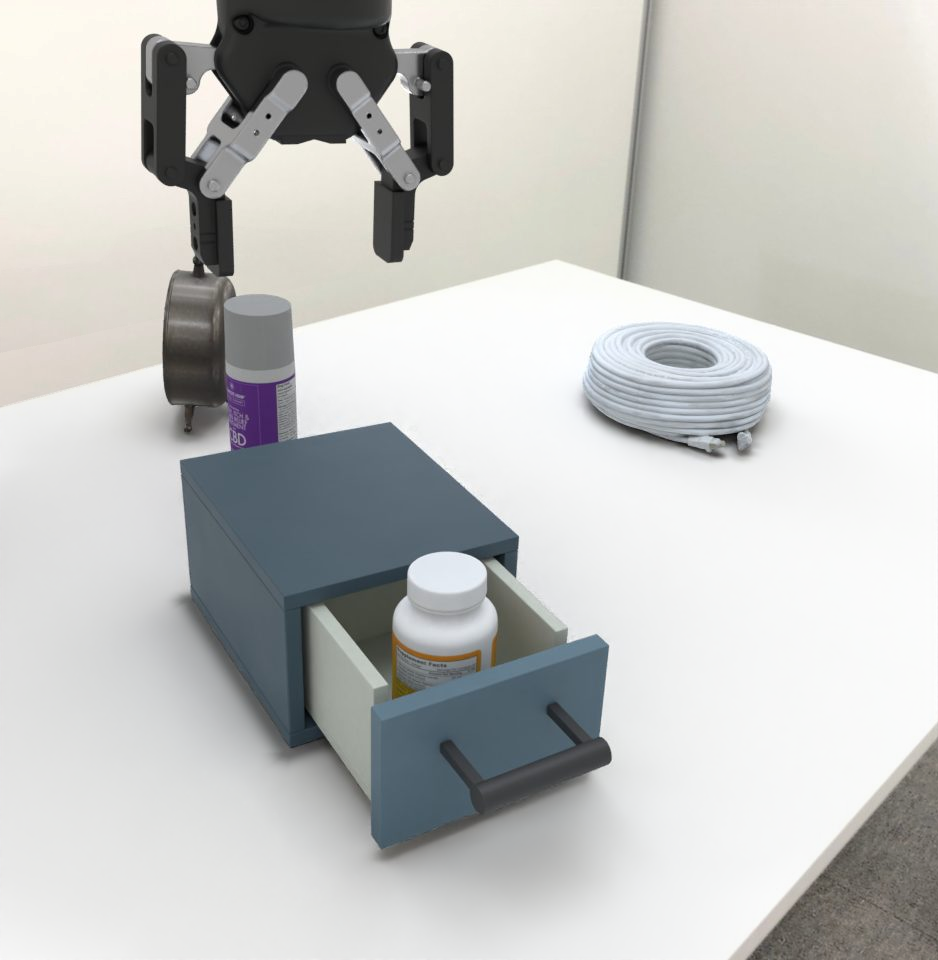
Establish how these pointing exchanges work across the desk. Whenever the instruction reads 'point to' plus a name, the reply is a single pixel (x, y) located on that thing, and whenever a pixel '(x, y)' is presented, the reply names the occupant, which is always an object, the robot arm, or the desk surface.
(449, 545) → the cabinet
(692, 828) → the desk surface
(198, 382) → the alarm clock
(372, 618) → the drawer
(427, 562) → the supplement bottle
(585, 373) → the cable
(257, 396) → the container
